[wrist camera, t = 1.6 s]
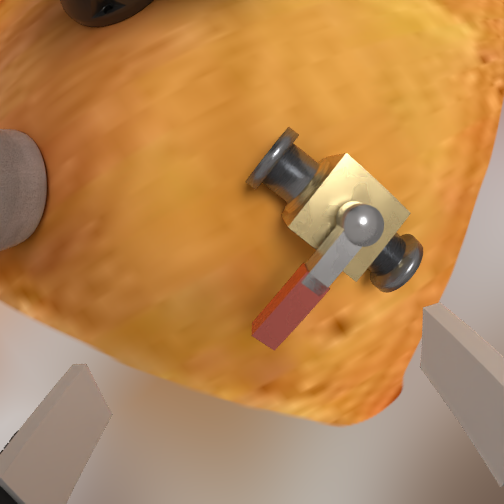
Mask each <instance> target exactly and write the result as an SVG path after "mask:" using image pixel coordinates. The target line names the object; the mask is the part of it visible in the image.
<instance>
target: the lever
mask: <svg viewBox="0 0 504 504" xmlns="http://www.w3.org/2000/svg"><path fill="white" fill-rule="evenodd" d="M383 230H384V220H383V217H382V215H381V213H380V212H379V211H378V210H377V209H376V208H375V207H373V206H370V205H367V204H364V203H361V202H358V201H351V202H347V203H345V204H344V205H343V206H342V207H341V208H340V209H339V210H338V212H337V215H336V227H335V228H334V229H333V230H332V232H331V233H330V234H329V235H328V237H327V238H326V239H325V240H324V242H323V243H322V244H321V245H320V246H319V248H318V249H317V250H316V251H315V253H314V254H313V255H312V256H311V257H310V259H309V260H308V261H307V262H306V263H305V264H304V263H302V265H301V266H300V267H299V268H298V270H297V271H296V272H295V273H294V274H293V276H292V277H291V278H290V279H289V280H288V281H287V283H286V284H285V285H284V286H283V287H282V289H281V290H280V291H279V292H278V293H277V294H276V296H275V297H274V298H273V299H272V300H271V302H270V303H269V304H268V305H267V306H266V307H265V309H264V310H263V311H262V312H261V313H260V314H259V315H258V317H257V318H256V319H255V320H254V321H253V322H252V336H253V337H254V338H256V339H257V340H259V341H261V342H262V343H264V344H265V345H267V346H268V347H270V348H271V349H273V350H275V349H276V348H277V347H278V346H279V345H280V344H281V343H282V342H283V341H284V340H285V339H286V338H287V337H288V335H289V334H290V333H291V332H292V331H293V330H294V329H295V328H296V327H297V326H298V325H299V323H300V322H301V321H302V320H303V319H304V318H305V317H306V316H307V315H308V314H309V312H310V311H311V310H312V309H313V308H314V307H315V306H316V305H317V303H318V302H319V301H320V300H321V299H322V298H323V297H324V295H325V294H326V293H327V292H328V291H329V290H330V288H329V286H330V285H331V284H332V283H333V281H334V280H335V279H336V278H337V277H338V275H339V274H340V273H341V272H342V271H343V269H344V268H345V267H346V266H347V265H348V263H349V262H350V261H351V260H352V259H353V257H354V256H355V255H356V254H357V252H358V251H359V250H360V249H361V248H362V247H366V246H370V245H373V244H374V243H376V242H377V241H378V240H379V239H380V237H381V235H382V233H383Z"/></svg>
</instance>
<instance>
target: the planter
mask: <svg viewBox="0 0 504 504" xmlns="http://www.w3.org/2000/svg"><path fill="white" fill-rule="evenodd" d="M46 192H47V179H46V171H45V165H44V161H43V158H42V155H41V153H40V151H39V148H38V147H37V145H36V144H35V142H34V141H33V140H32V139H31V138H30V137H29V136H28V135H27V134H25V133H23V132H20V131H17V130H13V129H0V251H2V250H5V249H8V248H10V247H13V246H16V245H18V244H20V243H22V242H23V241H25V240H26V239H27V238H29V237H30V236H31V234H32V233H33V232H34V231H35V229H36V228H37V226H38V224H39V222H40V219H41V217H42V214H43V210H44V206H45V201H46Z"/></svg>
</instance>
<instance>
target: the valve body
mask: <svg viewBox="0 0 504 504" xmlns="http://www.w3.org/2000/svg"><path fill="white" fill-rule="evenodd" d="M298 136H299V134H298V133H296V132H295V131H294V130H292V129H291V128H290V127H288V128H287V129H286V131H285V132H284V133H283V134H282V135H281V137H280V138H279V139H278V140H277V142H276V143H275V144H274V145H273V147H272V148H271V149H270V150H269V152H268V153H267V154H266V155H265V157H264V158H263V159H262V160H261V162H260V163H259V164H258V166H257V167H256V168H255V170H254V171H253V172H252V174H251V175H250V176H249V178H248V179H247V180H246V183H247V184H249V185H250V186H251V187H253V188H254V189H255V190H256V189H257V188H258V186H259V185H260V184H261V183H263V184H264V185H266V186H267V187H268V188H270V189H271V190H272V191H273V192H275V193H276V194H277V195H279V196H280V197H281V198H282V199H284V200H285V201H286V202H287V203H286V205H285V208H284V209H285V210H284V212H283V213H282V214H281V215H282V217H283V219H284V221H285V223H286V225H287V227H288V228H290V229H291V230H292V231H293V232H295V233H296V234H297V235H298V236H300V237H301V238H302V239H304V240H305V241H306V242H307V243H309V244H310V245H311V246H312V247H314V248H315V249H316V250H317V249H318V248H319V246H320V245H321V244H322V243H323V242H324V240H325V239H326V238H327V237H328V235H329V234H330V233H331V232H332V230H333V229H334V228H335V227H336V215H337V212H338V210H339V209H340V208H341V207H342V206H343V205H344V204H345V203H347V202H351V201H358V202H361V203H364V204H367V205H370V206H373V207H375V208H376V209H377V210H378V211H379V212H380V213H381V215H382V217H383V220H384V230H383V233H382V235H381V237H380V239H379V240H378V241H377V242H376V243H374V244H373V245H370V246H366V247H362V248H361V249H360V250H359V251H358V252H357V254H356V255H355V256H354V257H353V259H352V260H351V261H350V262H349V263H348V265H347V266H346V267H345V268H344V269H343V272H345V273H346V274H347V275H348V276H350V277H351V278H352V279H353V280H354V281H356V282H357V280H358V279H359V278H360V277H361V276H362V274H363V273H364V272H365V271H366V270H367V268H368V269H369V270H370V271H371V274H370V280H371V282H372V284H373V285H374V286H376V287H377V288H378V289H379V290H380V291H382V292H392V291H394V290H397V289H398V288H400V287H401V286H403V285H404V284H405V283H406V282H407V281H408V280H409V279H410V278H411V277H412V276H413V275H414V273H415V272H416V270H417V269H418V267H419V265H420V263H421V260H422V256H423V247H422V245H421V244H420V242H419V241H418V240H417V239H416V238H415V237H414V236H412V235H410V234H405V235H402V236H399V235H398V234H397V233H396V232H397V231H398V229H399V228H400V227H401V225H402V224H403V223H404V221H405V220H406V219H407V217H408V216H409V215H410V212H409V211H408V210H407V209H406V208H405V207H404V206H403V205H402V204H401V203H400V202H399V201H398V200H397V199H396V198H395V197H394V196H393V195H392V194H391V193H390V192H389V191H388V190H387V189H385V188H384V187H383V186H382V185H381V184H380V183H379V182H378V181H377V180H376V179H375V178H374V177H373V176H372V175H370V174H369V173H368V172H367V171H366V170H365V169H364V168H363V167H362V166H361V165H359V164H358V163H357V162H356V161H355V160H354V159H353V158H351V157H350V156H349V155H348V154H347V153H344V154H339V155H334V156H329V157H326V158H325V159H323V160H321V161H320V162H319V163H317V162H316V161H315V160H314V159H312V158H311V157H310V156H309V155H307V154H306V153H305V152H304V151H302V150H301V149H300V148H298V147H297V146H296V145H295V144H293V142H294V141H295V140H296V138H297V137H298Z"/></svg>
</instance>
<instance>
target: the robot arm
mask: <svg viewBox="0 0 504 504" xmlns="http://www.w3.org/2000/svg"><path fill="white" fill-rule="evenodd" d="M60 1H61V4H62V6H63V8H64V10H65V12H66V13H67V14H68V15H69V16H70V17H71V18H72V19H74V20H75V21H77V22H78V23H80V24H82V25H85V26H90V27H100V26H106V25H111V24H114V23H117V22H120V21H122V20H124V19H126V18H128V17H130V16H132V15H134V14H136V13H137V12H139V11H140V10H142V9H143V8H144V7H146V6H147V5H148V4H149V3H151V2H152V1H153V0H60ZM420 368H421V370H422V371H423V372H424V374H425V375H426V376H427V378H428V379H429V380H430V382H431V383H432V385H433V386H434V387H435V389H436V390H437V392H438V393H439V394H440V396H441V397H442V399H443V400H444V402H445V403H446V404H447V406H448V407H449V409H450V410H451V411H452V413H453V414H454V416H455V417H456V418H457V420H458V422H459V423H460V425H461V426H462V428H463V429H464V431H465V432H466V434H467V435H468V437H469V438H470V440H471V441H472V443H473V444H474V446H475V447H476V449H477V451H478V452H479V454H480V455H481V457H482V458H483V460H484V461H485V463H486V465H487V466H488V468H489V470H490V471H491V473H492V474H493V476H494V478H495V479H496V481H497V483H498V484H499V486H500V487H502V486H503V485H504V357H503V356H502V355H501V354H500V353H499V352H498V351H497V350H495V349H494V348H493V347H492V346H491V345H490V344H489V343H487V342H486V341H485V340H484V339H483V338H482V337H481V336H480V335H478V334H477V333H476V332H475V331H474V330H473V329H471V328H470V327H469V326H468V325H467V324H465V323H464V322H463V321H462V320H461V319H459V318H458V317H457V316H456V315H455V314H454V313H452V312H451V311H450V310H449V309H447V308H446V307H445V306H444V305H443V304H441V303H437V304H433V305H430V306H427V307H423V330H422V351H421V364H420ZM112 415H113V414H112V412H111V410H110V409H109V407H108V405H107V403H106V402H105V400H104V398H103V396H102V394H101V392H100V390H99V388H98V386H97V384H96V382H95V380H94V378H93V376H92V374H91V373H90V370H89V368H88V366H87V364H74V365H72V366H71V367H70V369H69V370H68V371H67V372H66V374H65V375H64V376H63V377H62V378H61V379H60V380H59V382H58V383H57V384H56V385H55V386H54V388H53V389H52V390H51V391H50V392H49V394H48V395H47V396H46V397H45V398H44V400H43V401H42V402H41V403H40V405H39V406H38V407H37V408H36V410H35V411H34V412H33V413H32V414H31V416H30V417H29V418H28V419H27V421H26V422H25V423H24V424H23V426H22V427H21V428H20V430H18V431H17V432H16V433H15V434H14V436H13V437H12V438H11V439H10V441H9V443H7V445H6V446H5V447H4V450H2V451H1V452H0V504H66V503H67V501H68V499H69V497H70V495H71V493H72V491H73V489H74V487H75V485H76V483H77V481H78V479H79V477H80V475H81V473H82V471H83V469H84V467H85V466H86V464H87V462H88V460H89V458H90V456H91V454H92V452H93V450H94V448H95V447H96V445H97V443H98V441H99V439H100V437H101V435H102V433H103V431H104V430H105V428H106V426H107V424H108V422H109V420H110V419H111V417H112Z"/></svg>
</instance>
